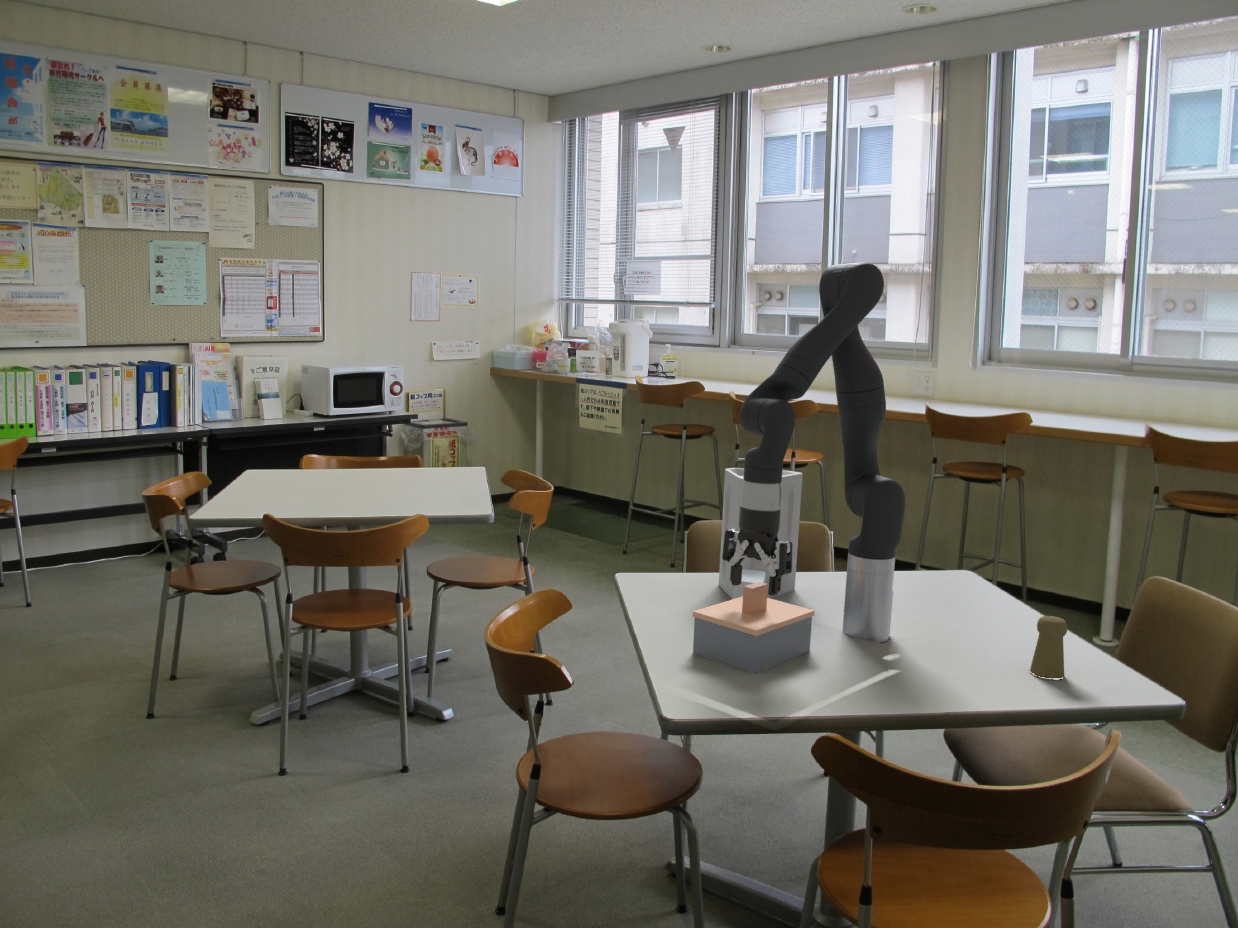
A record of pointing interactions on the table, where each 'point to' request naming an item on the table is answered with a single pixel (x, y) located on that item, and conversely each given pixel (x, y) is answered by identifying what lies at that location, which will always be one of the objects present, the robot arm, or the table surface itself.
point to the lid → (754, 612)
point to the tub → (751, 644)
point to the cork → (1049, 648)
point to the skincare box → (748, 581)
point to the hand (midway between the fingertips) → (754, 589)
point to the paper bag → (785, 533)
